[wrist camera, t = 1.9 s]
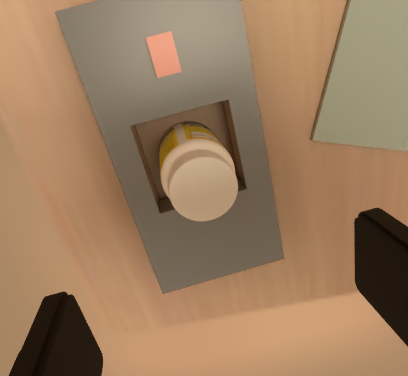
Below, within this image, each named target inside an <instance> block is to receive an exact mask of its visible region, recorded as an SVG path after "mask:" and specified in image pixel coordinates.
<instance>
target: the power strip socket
mask: <svg viewBox="0 0 408 376" xmlns="http://www.w3.org/2000/svg"><path fill="white" fill-rule="evenodd" d="M55 14H56V16H57V19H58V22H59V24H60V27H61V30H62V32H63V35H64V37H65V40H66V43H67V45H68V48H69V50H70V53H71V56H72V58H73V61H74V63H75V66H76V69H77V71H78V74H79V77H80V79H81V82H82V84H83V87H84V90H85V92H86V95H87V97H88V100H89V103H90V105H91V108H92V111H93V113H94V116H95V118H96V121H97V124H98V126H99V129H100V131H101V134H102V137H103V139H104V142H105V144H106V147H107V150H108V152H109V155H110V158H111V160H112V163H113V165H114V168H115V171H116V173H117V176H118V178H119V181H120V184H121V186H122V189H123V192H124V194H125V197H126V199H127V202H128V205H129V207H130V210H131V212H132V215H133V218H134V220H135V223H136V225H137V228H138V231H139V233H140V236H141V239H142V241H143V244H144V246H145V249H146V252H147V254H148V257H149V259H150V262H151V265H152V267H153V270H154V273H155V275H156V278H157V280H158V283H159V286H160V288H161V291H162V293H163V294H164V293H168V292H171V291H175V290H178V289H181V288H185V287H188V286H192V285H195V284H199V283H202V282H205V281H209V280H212V279H216V278H219V277H223V276H226V275H230V274H233V273H236V272H240V271H243V270H247V269H250V268H254V267H257V266H260V265H264V264H267V263H271V262H274V261H278V260H281V259H284V254H283V248H282V242H281V236H280V230H279V224H278V218H277V212H276V206H275V200H274V194H273V188H272V182H271V176H270V170H269V164H268V158H267V152H266V147H265V141H264V135H263V129H262V123H261V117H260V111H259V105H258V99H257V93H256V87H255V81H254V75H253V69H252V63H251V57H250V51H249V45H248V39H247V33H246V27H245V21H244V15H243V9H242V3H241V0H98V1H95V2H91V3H87V4H83V5H79V6H75V7H71V8H67V9H64V10H60V11H56V12H55ZM221 101H223V104H224V108H225V113H226V118H227V123H228V127H229V132H230V137H231V141H232V146H233V151H234V156H235V160H236V165H237V170H238V174H239V178H237V182H238V192H237V197H236V199H235V201H234V203H233V205H232V206H231V208H230V209H229V210H228V211H227V212H226V213H224V214H223V215H222V216H220V217H218V218H216V219H213V220H209V221H194V220H190V219H188V218H186V217H184V216H182V215H181V214H179V213H178V212H177V211H176V209H175V208H174V207H173V205H172V203H171V201H170V199H169V198H165V199H162V200H159V197H158V194H157V191H156V188H155V185H154V182H153V179H152V176H151V173H150V170H149V167H148V164H147V161H146V158H145V155H144V152H143V149H142V146H141V143H140V140H139V137H138V134H137V132H136V129H135V126H134V125H136V124H140V123H144V122H147V121H151V120H155V119H158V118H162V117H166V116H169V115H173V114H177V113H180V112H184V111H188V110H191V109H195V108H199V107H202V106H206V105H210V104H213V103H217V102H221Z"/></svg>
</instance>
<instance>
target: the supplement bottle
mask: <svg viewBox="0 0 408 376" xmlns="http://www.w3.org/2000/svg"><path fill="white" fill-rule="evenodd" d="M159 162H160V177H161V184H162V187H163V189H164V191H165V193H166V195H167V196H168V197H169V199H170V201H171V203H172V205H173V207H174V208H175V209H176V211H177V212H178V213H179V214H181V215H182V216H184V217H186V218H188V219H190V220H194V221H209V220H213V219H216V218H218V217H220V216H222V215H223V214H224V213H226V212H227V211H228V210H229V209H230V208H231V206H232V205H233V203H234V201H235V199H236V197H237V192H238V182H237V178H236V175H235V167H234V163H233V160H232V158H231V156H230V154H229V153H228V151H227V150H226V149H225V148H224V146H223V145H222V144H221V143H220V141H219V140H218V139H217V137H216V136H215V135H214V134H213V132H212V131H211V130H210V129H208V128H207V127H206V126H204V125H202V124H200V123H197V122H182V123H179V124H177V125H175V126H173V127H172V128H170V129H169V130H168V131H167V132H166V133H165V135H164V136H163V138H162V140H161V142H160V146H159Z"/></svg>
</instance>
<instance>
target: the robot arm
mask: <svg viewBox="0 0 408 376" xmlns="http://www.w3.org/2000/svg"><path fill="white" fill-rule="evenodd" d="M354 226H355V284H356V286H357V288H358V290H359V292H360V293H361V294H362V295H363V296H364V297H365V298H366V300H367V301H368V302H369V303H370V304H371V305H372V306H373V307H374V309H375V310H376V311H377V312H378V313H379V314H380V315H381V317H382V318H383V319H384V320H385V321H386V322H387V323H388V324H389V326H390V327H391V328H392V329H393V330H394V331H395V332H396V333H397V335H398V336H399V337H400V338H401V339H402V340H403V341H404V343H405V344H406V345H407V346H408V227H407V226H406V225H404V224H403V223H401V222H400V221H398V220H397V219H395V218H394V217H392V216H391V215H389V214H388V213H386V212H385V211H383V210H382V209H380V208H374V209H370V210H367V211H363V212H360V213H359V215H358V218H356V219H355V222H354ZM102 368H103V356H102V353H101V350H100V348H99V346H98V344H97V342H96V340H95V338H94V336H93V334H92V332H91V330H90V328H89V326H88V324H87V322H86V320H85V318H84V316H83V314H82V311H81V309H80V307H79V305H78V303H77V301H76V299H75V298H74V296H73V295H68V294H67V293H66V292H60V293H57V294H53V295H49V296H46V297H45V298H44V299H43V301H42V303H41V305H40V308H39V310H38V312H37V315H36V317H35V319H34V322H33V324H32V326H31V329H30V331H29V333H28V336H27V338H26V340H25V342H24V345H23V347H22V350H21V351H20V352H19V354H18V356H17V358H16V360H15V362H14V365H13V367H12V369H11V372H10V374H9V376H101V374H102Z"/></svg>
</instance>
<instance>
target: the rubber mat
mask: <svg viewBox="0 0 408 376" xmlns="http://www.w3.org/2000/svg"><path fill="white" fill-rule="evenodd" d="M310 140H312V141H320V142H329V143H337V144H346V145H354V146H363V147H371V148H380V149H388V150H397V151H406V152H408V0H348V2H347V5H346V9H345V13H344V17H343V20H342V24H341V28H340V31H339V35H338V39H337V43H336V46H335V50H334V54H333V57H332V61H331V65H330V68H329V72H328V76H327V80H326V83H325V87H324V91H323V94H322V98H321V102H320V105H319V109H318V113H317V117H316V120H315V124H314V128H313V131H312V135H311V139H310Z"/></svg>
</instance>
